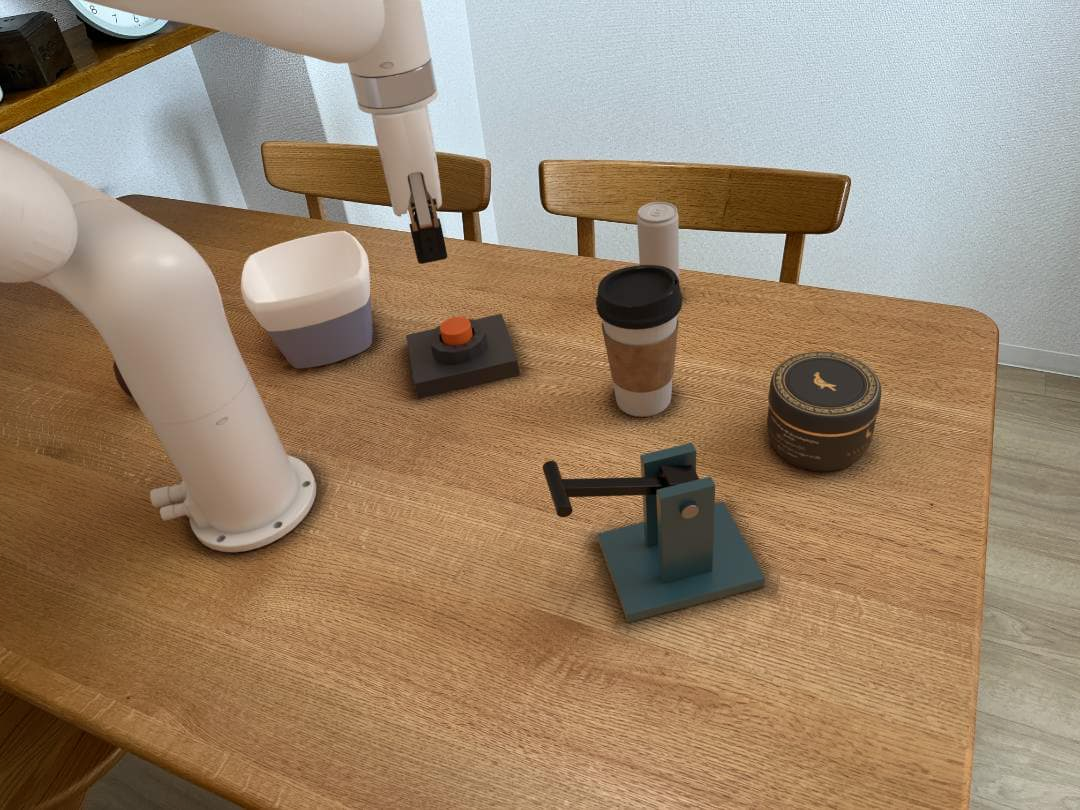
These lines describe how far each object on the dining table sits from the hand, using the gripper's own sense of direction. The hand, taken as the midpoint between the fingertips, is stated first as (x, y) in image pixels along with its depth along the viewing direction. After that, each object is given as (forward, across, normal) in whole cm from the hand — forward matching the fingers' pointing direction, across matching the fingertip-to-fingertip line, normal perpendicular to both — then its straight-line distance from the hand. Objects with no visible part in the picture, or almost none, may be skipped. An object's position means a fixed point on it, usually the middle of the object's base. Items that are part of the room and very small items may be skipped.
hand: (432, 257), depth 86 cm
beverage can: (+15, -5, +27) cm, 31 cm away
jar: (+15, +25, +33) cm, 44 cm away
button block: (+15, -1, +1) cm, 15 cm away
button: (+11, -1, +1) cm, 11 cm away
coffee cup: (+15, +13, +19) cm, 28 cm away
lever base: (+15, +35, +15) cm, 41 cm away
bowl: (+15, -12, -15) cm, 24 cm away
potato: (+16, -9, -36) cm, 40 cm away
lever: (+5, +35, +10) cm, 37 cm away
